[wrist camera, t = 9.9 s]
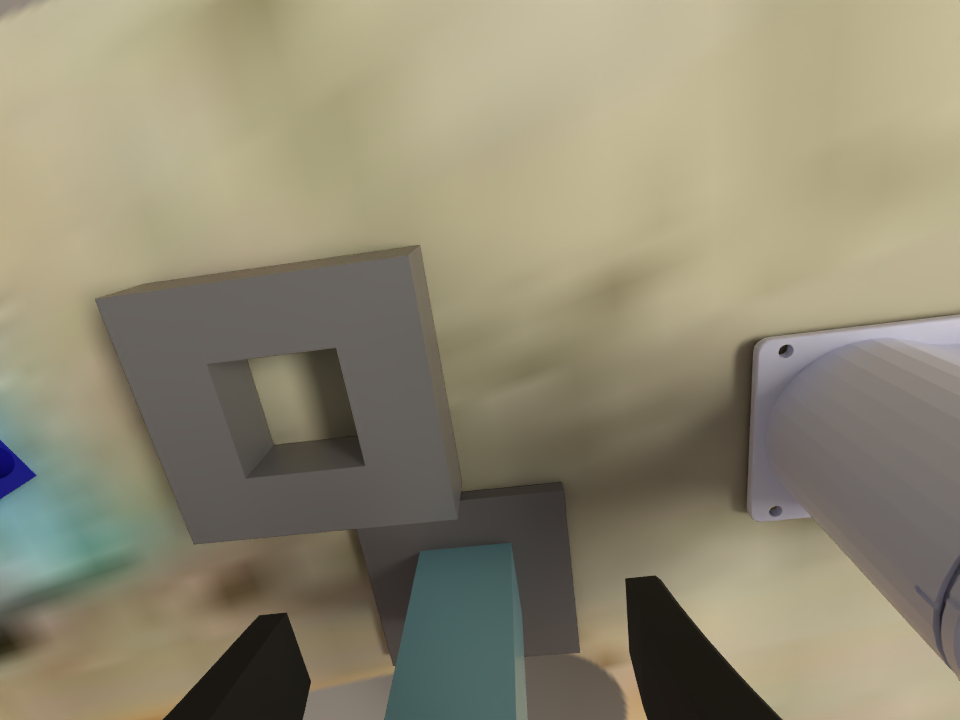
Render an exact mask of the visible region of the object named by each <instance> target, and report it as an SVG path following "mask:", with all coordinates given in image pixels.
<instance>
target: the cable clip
mask: <svg viewBox="0 0 960 720" xmlns="http://www.w3.org/2000/svg"><path fill="white" fill-rule="evenodd" d="M35 476H37V475H36V474H35V473H33V472H32V471H31V470H30V469H29V468H28V467H27V466H26V465H25V464H24V463H23V462H22V461H21V460H20V459H19V458H18V457H17V456H16V455H15V454H14V453H13V452H12V451H11V450H10V449H9V448H8V447H7V446H6V445H5V444H4V443H3V442H2V441H1V440H0V499H1V498H3V497H4V496H6V495H7V494H9V493H10V492H12V491H13V490H15V489H17V488H18V487H20V486H21V485H23V484H24V483H26V482H27V481H29V480H30V479H32V478H33V477H35Z"/></svg>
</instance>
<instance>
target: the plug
mask: <svg viewBox="0 0 960 720" xmlns="http://www.w3.org/2000/svg"><path fill="white" fill-rule="evenodd" d="M526 703H527V702H526V683H525V663H524V643H523V623H522V610H521V604H520V597H519V591H518V584H517V578H516V572H515V565H514V559H513V552H512V546H511V543H501V544H491V545H480V546H470V547H459V548H449V549H438V550H428V551H420V554H419V559H418V563H417V568H416V573H415V577H414V582H413V587H412V591H411V596H410V601H409V606H408V610H407V615H406V620H405V624H404V629H403V634H402V638H401V643H400V648H399V653H398V657H397V662H396V667H395V671H394V676H393V681H392V686H391V690H390V695H389V700H388V704H387V709H386V714H385V718H384V720H527V704H526Z"/></svg>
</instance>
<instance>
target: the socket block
mask: <svg viewBox="0 0 960 720" xmlns="http://www.w3.org/2000/svg"><path fill="white" fill-rule="evenodd" d="M95 301H96V303H97V306H98V308H99V311H100V313H101V316H102V318H103V321H104V323H105V326H106V328H107V331H108V333H109V336H110V338H111V340H112V343H113V345H114V348H115V350H116V353H117V355H118V358H119V360H120V363H121V365H122V368H123V370H124V373H125V375H126V378H127V380H128V383H129V385H130V388H131V390H132V392H133V395H134V397H135V400H136V402H137V405H138V407H139V410H140V412H141V415H142V417H143V420H144V422H145V425H146V427H147V430H148V432H149V435H150V437H151V440H152V442H153V444H154V447H155V449H156V452H157V454H158V457H159V459H160V462H161V464H162V467H163V469H164V472H165V474H166V477H167V479H168V482H169V484H170V487H171V489H172V492H173V494H174V496H175V499H176V501H177V504H178V506H179V509H180V511H181V514H182V516H183V519H184V521H185V524H186V526H187V529H188V531H189V534H190V536H191V539H192V541H193V544H203V543H214V542H224V541H235V540H245V539H256V538H266V537H277V536H287V535H298V534H308V533H319V532H329V531H340V530H351V529H361V528H372V527H382V526H393V525H403V524H414V523H424V522H435V521H445V520H456V519H458V511H459V503H460V495H461V487H462V479H461V473H460V467H459V462H458V456H457V451H456V445H455V439H454V434H453V428H452V423H451V417H450V411H449V406H448V400H447V394H446V389H445V383H444V378H443V372H442V366H441V361H440V355H439V350H438V344H437V338H436V333H435V327H434V322H433V316H432V310H431V305H430V299H429V293H428V288H427V282H426V277H425V271H424V265H423V260H422V254H421V249H420V245H417V246H410V247H403V248H396V249H389V250H382V251H375V252H368V253H360V254H353V255H346V256H339V257H332V258H325V259H318V260H311V261H304V262H297V263H289V264H282V265H275V266H268V267H261V268H254V269H247V270H240V271H233V272H225V273H218V274H211V275H204V276H197V277H190V278H183V279H176V280H169V281H162V282H154V283H147V284H143V285H139V286H136V287H133V288H129V289H126V290H123V291H120V292H116V293H113V294H110V295H106V296H103V297H100V298H97V299H95ZM331 348H336V350H337V354H338V358H339V362H340V366H341V370H342V374H343V378H344V382H345V386H346V390H347V394H348V398H349V402H350V406H351V410H352V414H353V419H354V423H355V427H356V431H357V435H358V436H353V437H344V438H335V439H326V440H317V441H308V442H298V443H289V444H280V445H274V444H273V441H272V438H271V435H270V431H269V428H268V425H267V422H266V419H265V416H264V412H263V409H262V406H261V403H260V400H259V396H258V393H257V390H256V387H255V384H254V380H253V377H252V374H251V371H250V368H249V365H248V361H247V359H252V358H260V357H268V356H276V355H284V354H292V353H300V352H307V351H315V350H323V349H331Z"/></svg>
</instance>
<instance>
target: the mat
mask: <svg viewBox="0 0 960 720" xmlns="http://www.w3.org/2000/svg"><path fill="white" fill-rule="evenodd" d="M356 530H357V533H358V537H359V541H360V544H361V548H362V552H363V556H364V559H365V563H366V567H367V570H368V574H369V578H370V582H371V585H372V589H373V593H374V596H375V600H376V604H377V608H378V611H379V615H380V619H381V622H382V626H383V630H384V634H385V637H386V641H387V645H388V648H389V652H390V656H391V660H392V663H393V666H396V662H397V657H398V653H399V648H400V643H401V638H402V634H403V629H404V624H405V620H406V615H407V610H408V606H409V601H410V596H411V591H412V587H413V582H414V577H415V573H416V568H417V563H418V559H419V554H420V551H428V550H438V549H449V548H459V547H470V546H480V545H491V544H501V543H511V546H512V552H513V559H514V565H515V572H516V578H517V584H518V591H519V597H520V604H521V610H522V623H523V643H524V657H526V656H539V655H554V654H568V653H580V647H579V637H578V627H577V617H576V607H575V597H574V587H573V577H572V567H571V557H570V547H569V538H568V528H567V518H566V508H565V498H564V489H563V484H562V482H559V483H549V484H539V485H529V486H519V487H508V488H498V489H488V490H478V491H468V492H461V495H460V503H459V511H458V519H456V520H445V521H435V522H424V523H414V524H403V525H393V526H382V527H372V528H361V529H356Z"/></svg>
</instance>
